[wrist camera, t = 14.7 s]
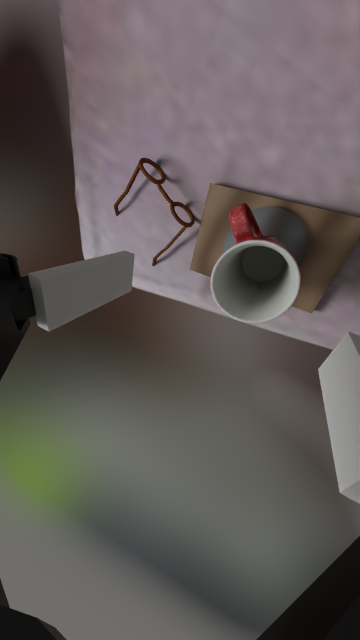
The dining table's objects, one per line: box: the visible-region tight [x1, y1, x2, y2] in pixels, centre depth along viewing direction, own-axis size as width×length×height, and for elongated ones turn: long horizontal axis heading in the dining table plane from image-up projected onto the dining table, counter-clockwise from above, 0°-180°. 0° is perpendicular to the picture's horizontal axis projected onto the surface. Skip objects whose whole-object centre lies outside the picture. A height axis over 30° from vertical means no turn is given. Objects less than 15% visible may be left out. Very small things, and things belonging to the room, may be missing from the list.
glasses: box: [114, 158, 195, 266], centre depth 39 cm, size 13×13×5 cm
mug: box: [210, 203, 301, 323], centre depth 27 cm, size 13×9×14 cm
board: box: [190, 183, 360, 313], centre depth 34 cm, size 22×14×2 cm, turn 76°
